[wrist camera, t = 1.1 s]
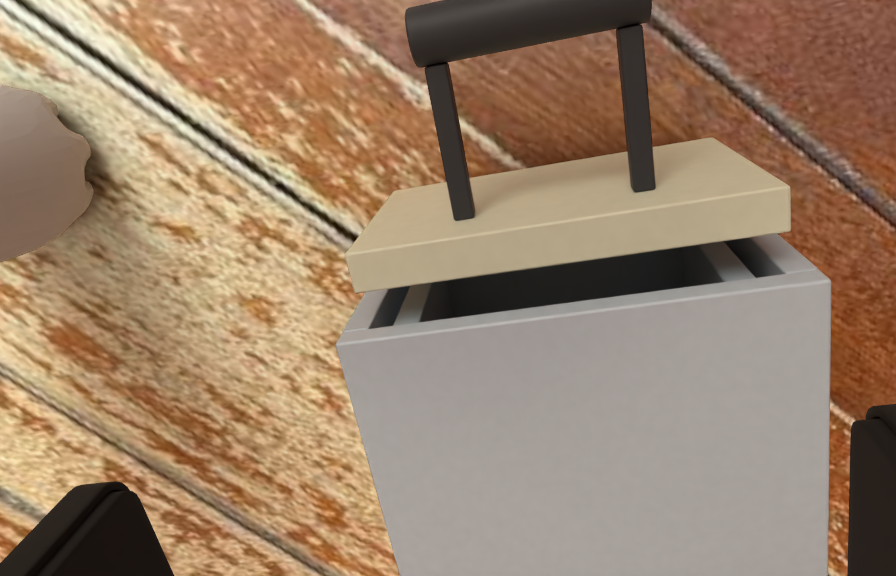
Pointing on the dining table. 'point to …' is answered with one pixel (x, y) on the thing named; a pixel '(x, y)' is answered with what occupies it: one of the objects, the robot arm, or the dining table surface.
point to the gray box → (605, 429)
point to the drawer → (558, 189)
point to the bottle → (37, 173)
